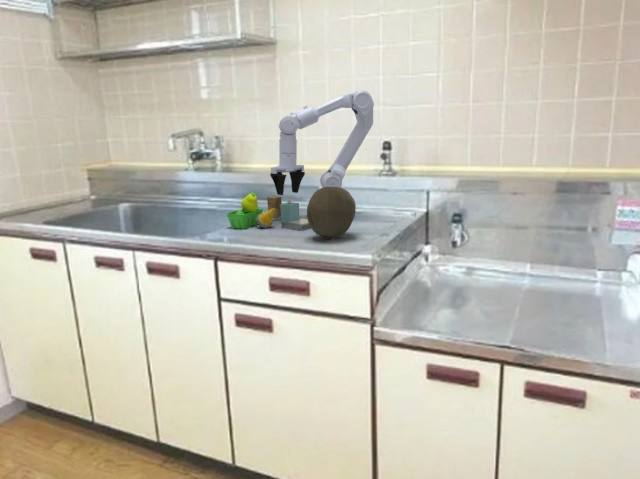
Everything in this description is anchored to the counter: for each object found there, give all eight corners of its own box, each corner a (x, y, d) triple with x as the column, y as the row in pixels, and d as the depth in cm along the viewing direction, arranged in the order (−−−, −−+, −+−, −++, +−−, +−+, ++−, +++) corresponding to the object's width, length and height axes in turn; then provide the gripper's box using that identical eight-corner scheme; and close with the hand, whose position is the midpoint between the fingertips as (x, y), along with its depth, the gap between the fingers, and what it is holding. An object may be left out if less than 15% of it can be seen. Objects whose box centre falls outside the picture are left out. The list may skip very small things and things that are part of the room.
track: (280, 216, 194) (280, 213, 193) (289, 217, 191) (289, 215, 190) (257, 221, 186) (257, 219, 186) (266, 222, 183) (265, 220, 183)
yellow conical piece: (266, 226, 180) (283, 207, 175) (264, 236, 176) (281, 216, 171) (253, 218, 178) (269, 198, 173) (250, 227, 174) (267, 208, 169)
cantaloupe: (353, 243, 149) (351, 190, 146) (304, 243, 152) (300, 191, 148) (359, 232, 163) (357, 182, 159) (313, 232, 165) (310, 184, 162)
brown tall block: (274, 214, 191) (273, 196, 189) (282, 215, 188) (281, 196, 187) (268, 216, 189) (267, 197, 187) (276, 217, 186) (274, 198, 185)
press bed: (303, 222, 181) (302, 217, 181) (322, 224, 175) (322, 220, 175) (281, 227, 174) (281, 222, 174) (301, 230, 168) (301, 225, 168)
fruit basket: (247, 221, 187) (244, 189, 184) (268, 223, 182) (265, 190, 180) (226, 228, 177) (223, 194, 175) (247, 230, 173) (244, 195, 170)
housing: (290, 219, 188) (289, 199, 186) (299, 220, 185) (298, 200, 183) (281, 221, 185) (280, 201, 183) (290, 222, 182) (289, 202, 180)
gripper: (293, 151, 187) (292, 190, 190) (264, 153, 176) (264, 194, 179) (308, 152, 182) (308, 192, 186) (279, 154, 171) (279, 196, 174)
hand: (287, 193), depth 182 cm, fingers open, 7 cm apart
